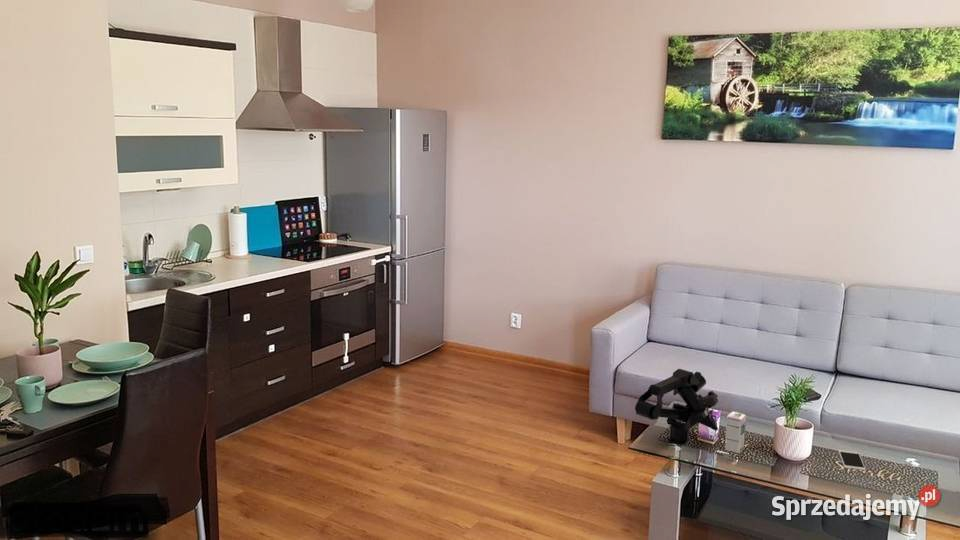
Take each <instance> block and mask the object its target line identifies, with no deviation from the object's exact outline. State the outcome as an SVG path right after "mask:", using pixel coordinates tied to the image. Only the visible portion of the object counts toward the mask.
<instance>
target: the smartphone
mask: <svg viewBox="0 0 960 540" xmlns="http://www.w3.org/2000/svg"><path fill="white" fill-rule="evenodd" d="M838 454H839V457H840V460H841V462H842V464H843V468H844V469H847V470H848V469H849V470H856V471H866V466H865V465H864V462H863V460H862V457H861V454H860V453H859V451H855V450H844V449H838Z"/></svg>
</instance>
